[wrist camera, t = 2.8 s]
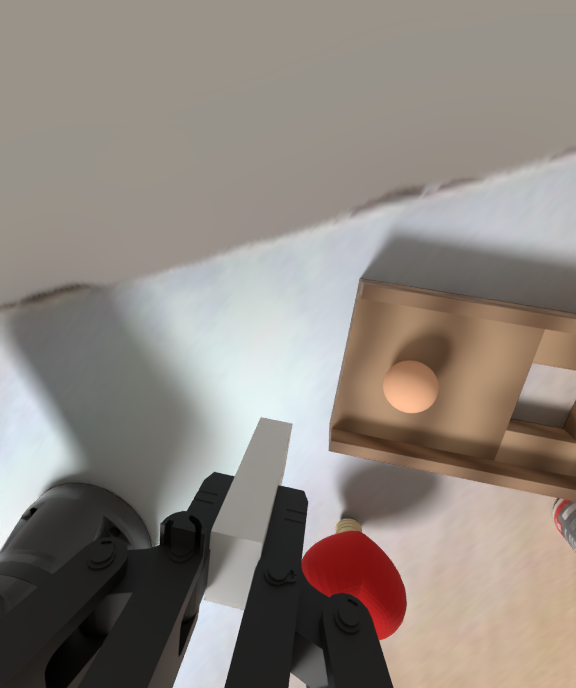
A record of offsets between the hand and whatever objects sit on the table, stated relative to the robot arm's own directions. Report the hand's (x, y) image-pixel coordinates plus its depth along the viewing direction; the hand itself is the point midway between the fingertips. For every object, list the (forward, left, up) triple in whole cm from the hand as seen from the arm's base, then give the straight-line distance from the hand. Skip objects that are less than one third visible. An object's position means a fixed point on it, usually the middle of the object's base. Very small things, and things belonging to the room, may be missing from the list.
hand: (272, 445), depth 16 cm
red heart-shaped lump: (+8, -18, -16) cm, 25 cm away
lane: (+16, 0, -16) cm, 22 cm away
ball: (+9, 0, -13) cm, 16 cm away
